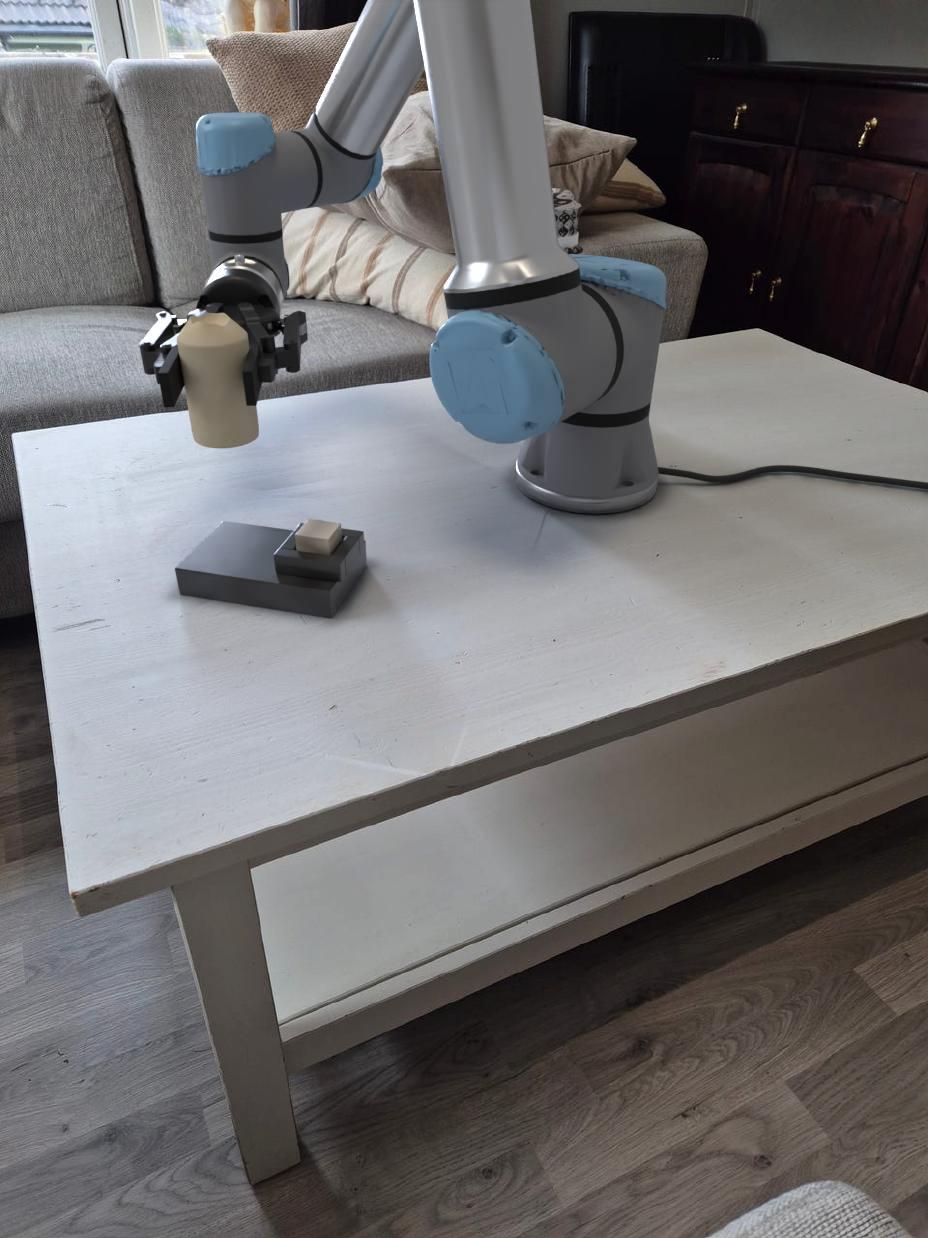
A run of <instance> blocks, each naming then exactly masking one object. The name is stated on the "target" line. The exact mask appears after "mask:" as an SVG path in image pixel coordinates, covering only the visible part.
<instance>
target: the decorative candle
mask: <svg viewBox="0 0 928 1238" xmlns="http://www.w3.org/2000/svg"><path fill="white" fill-rule="evenodd" d="M552 194H553V203H554V211H555V220H556V228H557V237H558V244H559V245H560V246H561V248H562V249H563V250H564V251H565V252H567V253H568V254H580V255H581V254H582V253H583V251H584V249H583V247H582V246H581V245H580V243H579V235H580V234H579V233H580V232H579V231H578V226H579V217H580V216H579V215H580V213H579V212H580V207H582V204H581V203H579V202H577V200H576V197H575V195H574V194H573V192H571V191H570V190H569V189H567V188H563V187H554V186H552Z"/></svg>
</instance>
